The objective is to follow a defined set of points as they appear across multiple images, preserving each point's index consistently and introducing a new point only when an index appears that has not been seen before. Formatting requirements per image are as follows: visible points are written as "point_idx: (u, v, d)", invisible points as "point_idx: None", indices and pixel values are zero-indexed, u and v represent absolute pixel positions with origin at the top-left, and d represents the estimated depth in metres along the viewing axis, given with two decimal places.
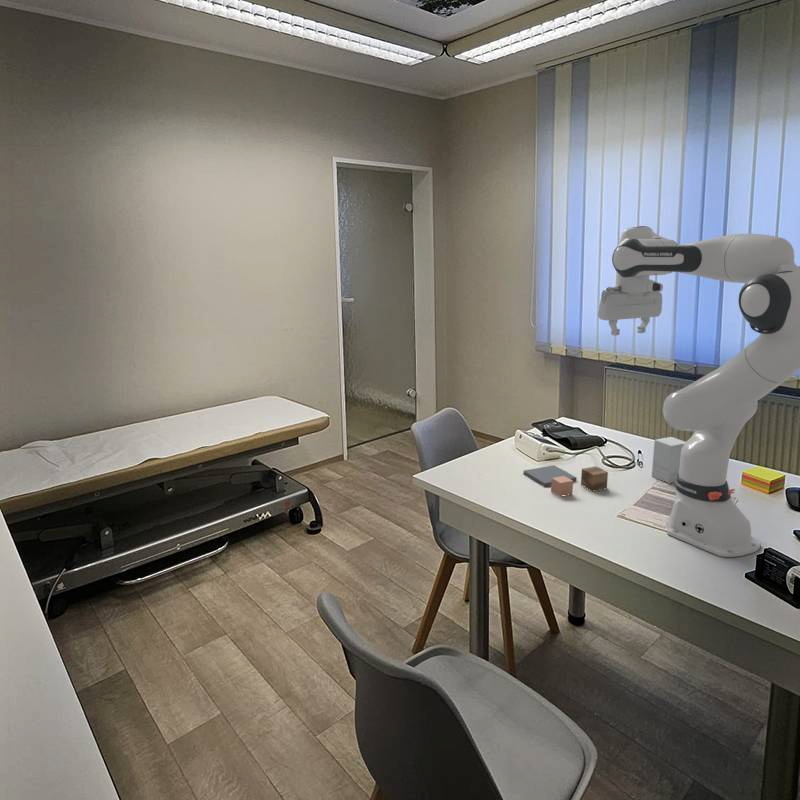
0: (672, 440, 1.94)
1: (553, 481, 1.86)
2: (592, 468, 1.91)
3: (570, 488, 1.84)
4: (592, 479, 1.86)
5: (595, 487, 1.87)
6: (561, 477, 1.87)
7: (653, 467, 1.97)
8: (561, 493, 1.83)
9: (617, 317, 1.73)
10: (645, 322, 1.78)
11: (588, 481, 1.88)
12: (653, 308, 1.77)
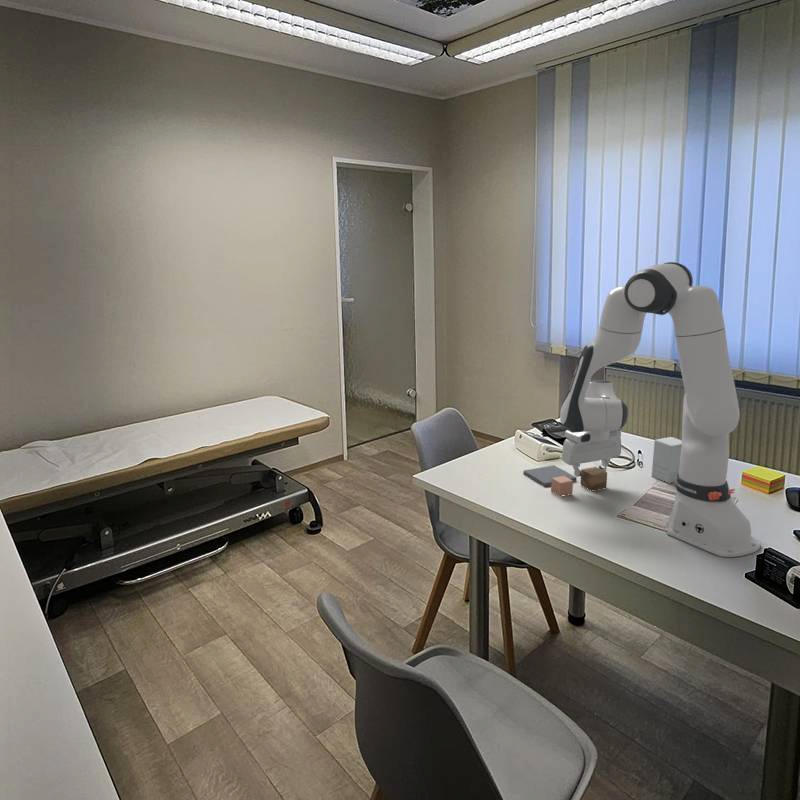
0: (672, 440, 1.94)
1: (553, 481, 1.86)
2: (591, 468, 1.91)
3: (570, 488, 1.84)
4: (591, 480, 1.86)
5: (594, 487, 1.87)
6: (561, 477, 1.87)
7: (653, 467, 1.97)
8: (561, 493, 1.83)
9: None
10: None
11: (587, 482, 1.88)
12: None
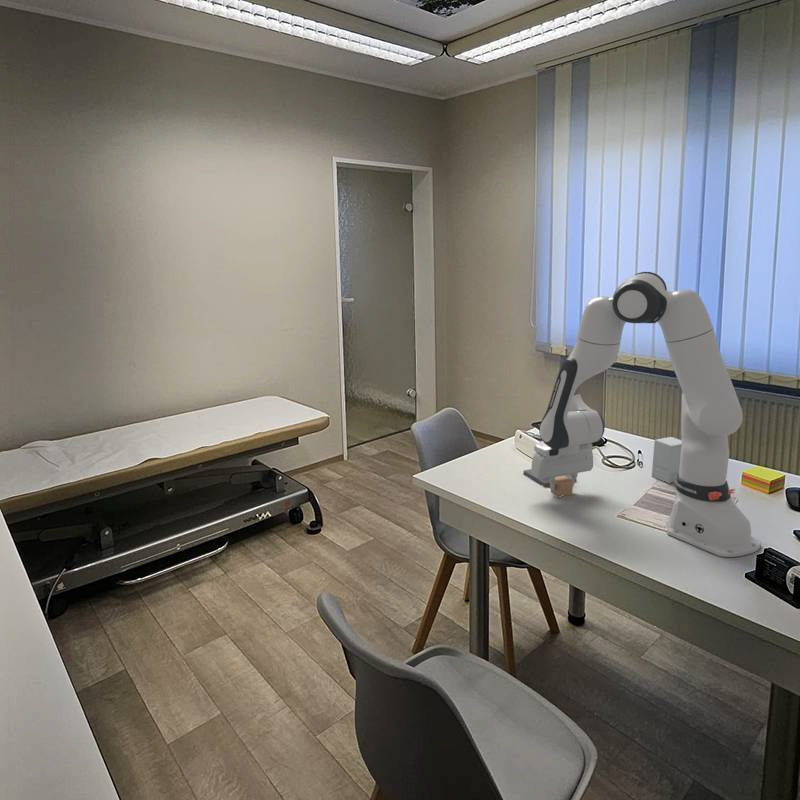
0: (672, 440, 1.94)
1: None
2: None
3: (570, 488, 1.84)
4: None
5: None
6: (561, 477, 1.87)
7: (653, 467, 1.97)
8: (561, 493, 1.83)
9: None
10: None
11: None
12: None
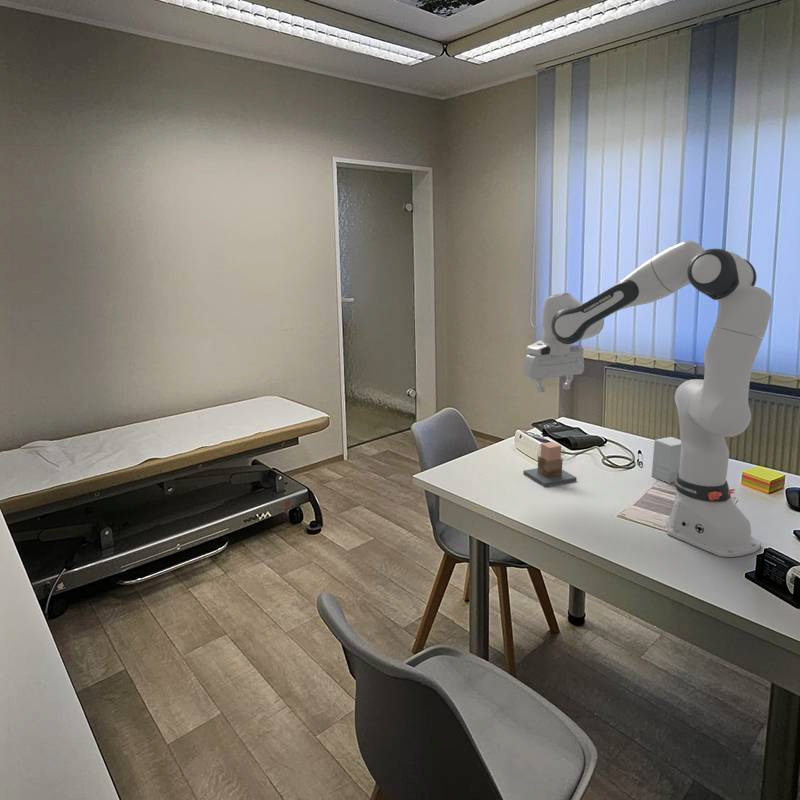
0: (672, 440, 1.94)
1: (542, 446, 1.96)
2: None
3: (558, 453, 1.95)
4: (547, 466, 1.94)
5: (550, 473, 1.95)
6: (550, 443, 1.97)
7: (653, 467, 1.97)
8: (550, 457, 1.94)
9: None
10: None
11: (543, 468, 1.96)
12: None
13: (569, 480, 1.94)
